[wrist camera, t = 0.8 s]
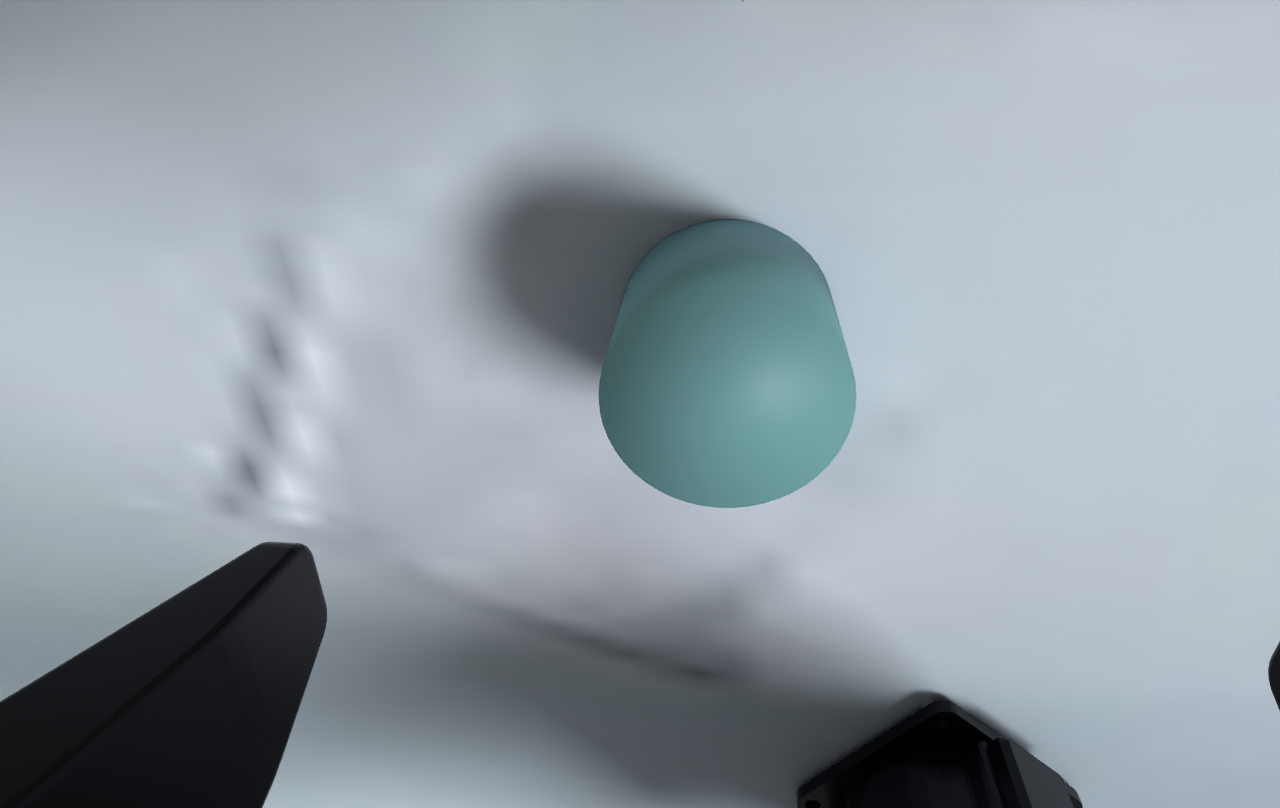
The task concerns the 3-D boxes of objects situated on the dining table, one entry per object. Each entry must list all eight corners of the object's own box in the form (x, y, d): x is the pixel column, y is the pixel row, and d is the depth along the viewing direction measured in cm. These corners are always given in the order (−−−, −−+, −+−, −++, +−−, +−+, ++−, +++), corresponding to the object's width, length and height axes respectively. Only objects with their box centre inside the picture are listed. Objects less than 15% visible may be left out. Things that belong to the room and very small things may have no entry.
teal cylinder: (734, 448, 21) (735, 546, 18) (579, 332, 20) (549, 412, 17) (879, 311, 19) (912, 394, 16) (715, 172, 18) (712, 228, 15)
